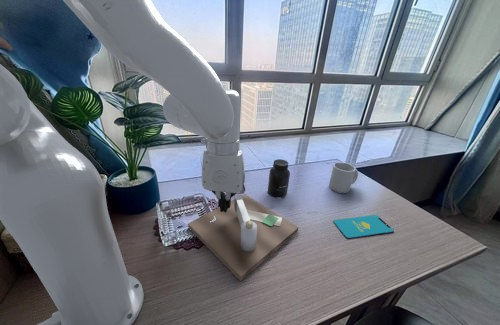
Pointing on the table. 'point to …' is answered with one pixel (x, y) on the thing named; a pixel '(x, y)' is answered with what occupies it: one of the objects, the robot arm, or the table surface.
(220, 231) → the board
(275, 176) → the supplement bottle
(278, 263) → the table surface
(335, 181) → the cup
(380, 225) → the smartphone
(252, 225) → the tuning lever
